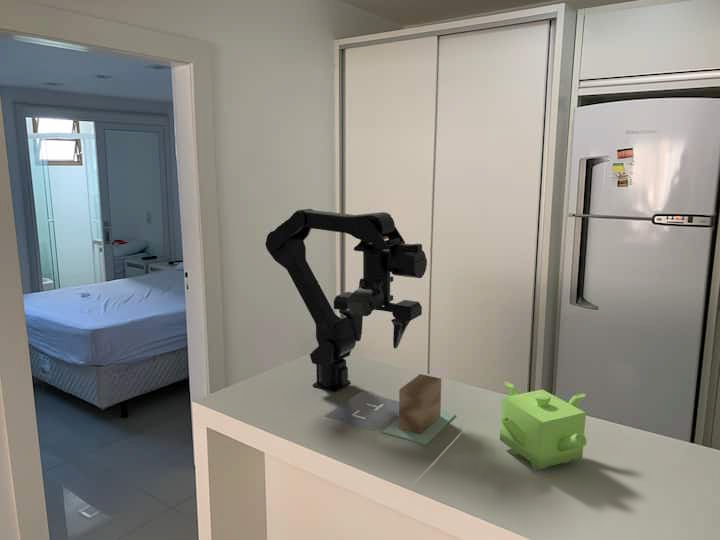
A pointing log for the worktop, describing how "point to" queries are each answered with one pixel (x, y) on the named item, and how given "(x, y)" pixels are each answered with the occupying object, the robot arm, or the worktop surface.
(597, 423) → the worktop surface
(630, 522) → the worktop surface
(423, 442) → the green mat
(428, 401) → the walnut block
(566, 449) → the green knobbed block
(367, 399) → the plate
